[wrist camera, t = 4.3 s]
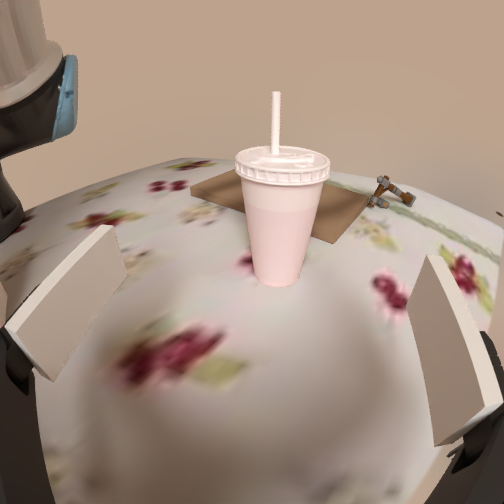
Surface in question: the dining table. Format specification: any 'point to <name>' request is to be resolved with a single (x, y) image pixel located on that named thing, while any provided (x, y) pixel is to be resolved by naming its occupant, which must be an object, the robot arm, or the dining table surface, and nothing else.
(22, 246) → the dining table surface
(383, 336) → the dining table surface
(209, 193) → the walnut board
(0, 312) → the off-white cube
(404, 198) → the wooden post with brackets
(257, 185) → the smoothie
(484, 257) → the dining table surface
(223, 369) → the dining table surface
